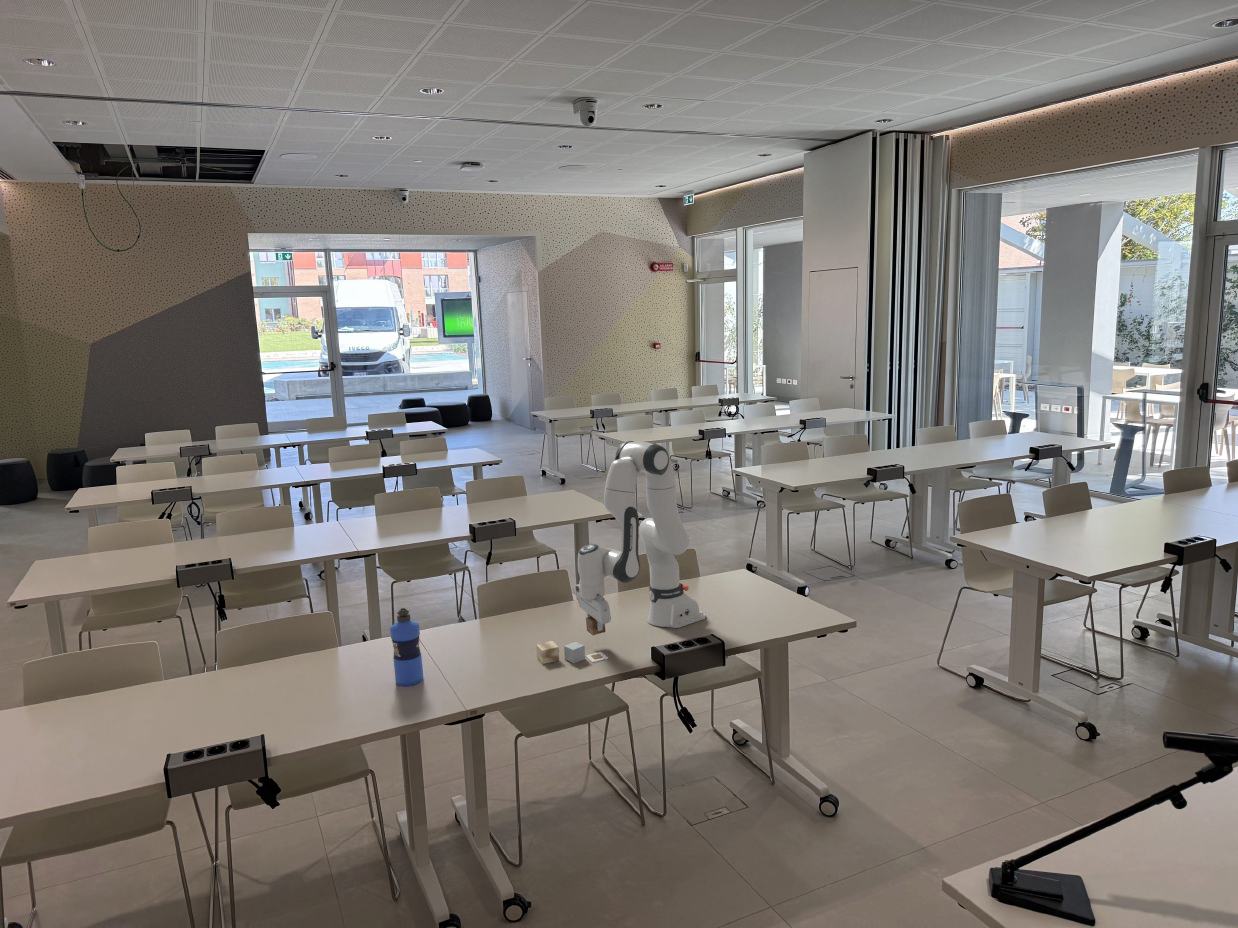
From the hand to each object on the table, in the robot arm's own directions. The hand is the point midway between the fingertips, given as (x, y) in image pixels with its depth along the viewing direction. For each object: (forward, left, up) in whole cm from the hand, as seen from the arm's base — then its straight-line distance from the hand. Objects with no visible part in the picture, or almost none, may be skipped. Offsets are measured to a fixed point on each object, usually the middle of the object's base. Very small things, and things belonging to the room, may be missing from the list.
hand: (595, 626), depth 301 cm
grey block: (+11, +6, -7) cm, 15 cm away
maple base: (+19, +1, -7) cm, 21 cm away
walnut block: (0, 0, -2) cm, 2 cm away
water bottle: (+65, -7, -7) cm, 66 cm away
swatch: (+4, +9, -7) cm, 12 cm away
